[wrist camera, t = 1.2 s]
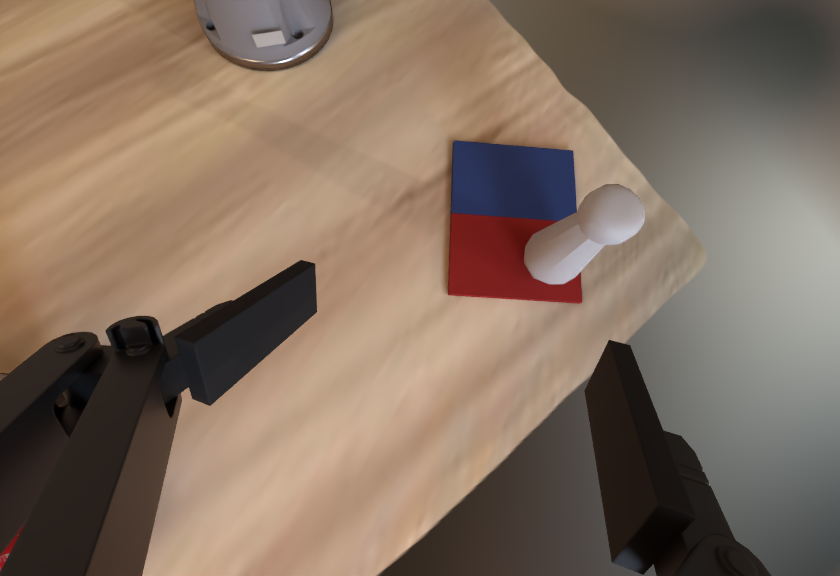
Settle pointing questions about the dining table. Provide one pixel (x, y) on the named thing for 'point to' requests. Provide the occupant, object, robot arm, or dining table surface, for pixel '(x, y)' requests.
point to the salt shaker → (584, 234)
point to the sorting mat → (506, 218)
